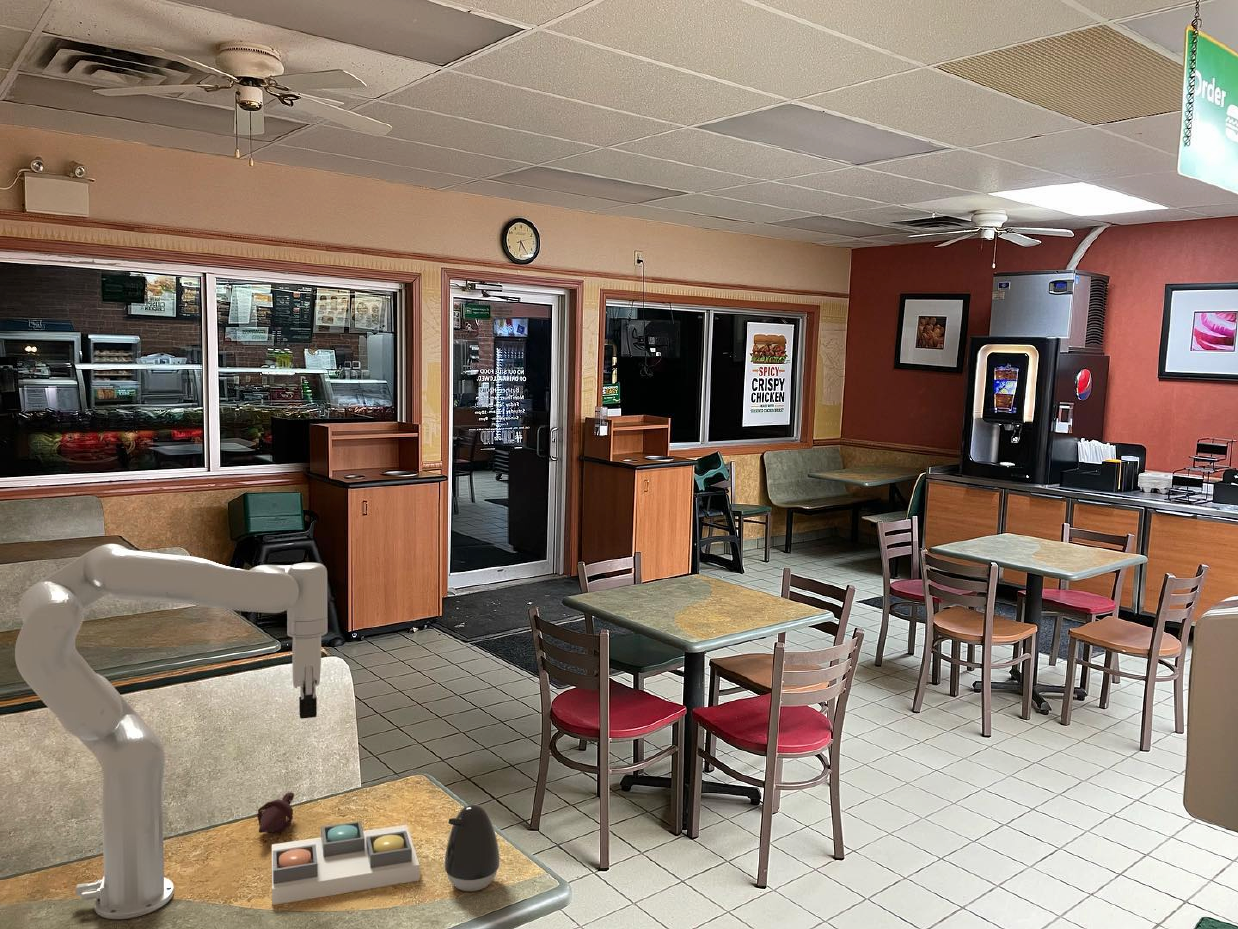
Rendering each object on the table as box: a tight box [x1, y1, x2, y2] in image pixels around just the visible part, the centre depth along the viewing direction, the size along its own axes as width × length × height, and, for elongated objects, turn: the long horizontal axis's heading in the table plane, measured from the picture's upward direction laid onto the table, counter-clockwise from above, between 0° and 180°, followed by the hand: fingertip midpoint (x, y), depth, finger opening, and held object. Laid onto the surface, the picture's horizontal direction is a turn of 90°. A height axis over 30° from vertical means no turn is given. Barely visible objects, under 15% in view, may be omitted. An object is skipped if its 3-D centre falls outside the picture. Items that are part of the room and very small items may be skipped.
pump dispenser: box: [444, 803, 501, 892], centre depth 171 cm, size 10×10×15 cm
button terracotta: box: [279, 849, 311, 868], centre depth 170 cm, size 6×6×2 cm
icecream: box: [256, 791, 295, 835], centre depth 190 cm, size 7×7×15 cm
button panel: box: [271, 820, 420, 906], centre depth 176 cm, size 26×17×6 cm, turn 111°
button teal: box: [328, 825, 357, 842], centre depth 180 cm, size 6×6×2 cm
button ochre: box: [374, 835, 404, 853], centre depth 176 cm, size 6×6×2 cm
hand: (308, 716), depth 182 cm, fingers closed
